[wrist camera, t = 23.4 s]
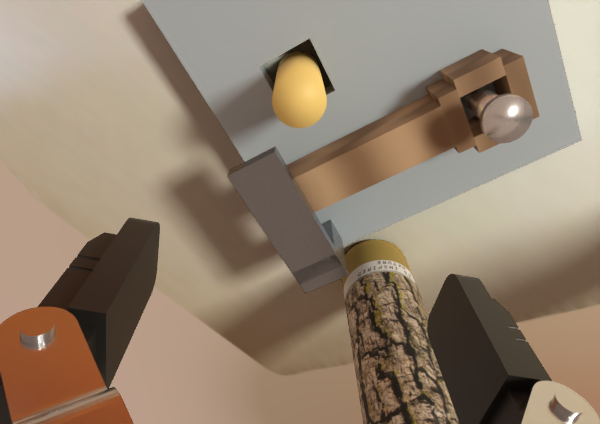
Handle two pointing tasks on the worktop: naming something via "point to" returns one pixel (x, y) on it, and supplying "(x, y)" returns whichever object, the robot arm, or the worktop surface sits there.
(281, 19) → the board
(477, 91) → the pintle
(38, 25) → the worktop surface
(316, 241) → the keeper
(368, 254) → the brown bark-textured cylinder
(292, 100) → the pin
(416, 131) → the link
